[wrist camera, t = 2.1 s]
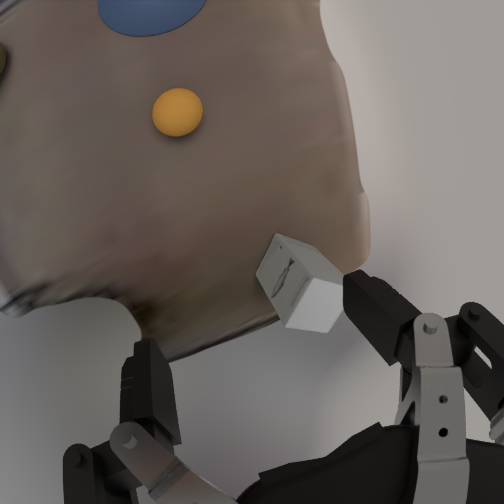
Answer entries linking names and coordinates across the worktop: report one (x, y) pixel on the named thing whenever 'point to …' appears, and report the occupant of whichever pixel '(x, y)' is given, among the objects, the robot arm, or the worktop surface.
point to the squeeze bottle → (2, 58)
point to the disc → (147, 15)
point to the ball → (177, 112)
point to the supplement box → (301, 285)
